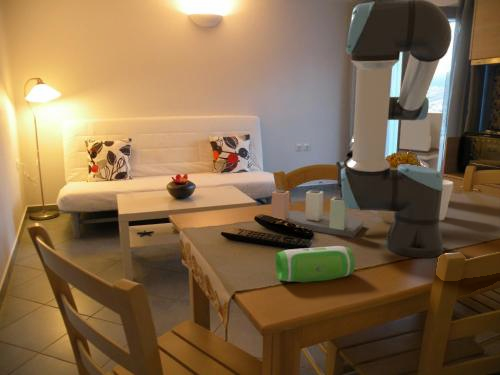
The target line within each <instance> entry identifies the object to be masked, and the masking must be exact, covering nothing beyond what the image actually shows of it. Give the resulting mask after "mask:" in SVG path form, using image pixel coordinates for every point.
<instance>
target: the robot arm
mask: <svg viewBox="0 0 500 375" xmlns="http://www.w3.org/2000/svg"><path fill="white" fill-rule="evenodd" d="M451 41H452V28H451V24H450V21H449V18H448V17H447V15H446V14H445V12H444V11H443V10H442V9H441V8H440V7H439V5H436V4H435V3H433V2H431V1H429V0H388V1H387V0H384V1H383V0H382V1H369V2H363V3H358V4H356V5H355V6H354V7H353V9H352V13H351V20H350V24H349V30H348V36H347V43H346V49H345V53H346V54H347V55H351V57H350V62H351V63H352V64H353V65H354V67H356V80H355V82H356V83H355V101H354V103H355V104H354V120H353V133H352V137H351V140H350V143H349V146H348V150H347V153H346V157H345V158H344V159H343V161H341V162H339V161H337V162H335V165H336V167H337V187H338V189H339V190H341V191H340V196H339V197H342V198H343V202H344V205H345V206H346V207H347V208H348V210H349V209H351V210H358V211H375V212H376V211H377V212H394V215H393V221H392V223H391V225H390V227H389V230H388V233H387V234H386V236H385V247H386V248H387V249H388V250H390V251H391V252H393V253H395V254H398V255H402V256H405V257H411V258H418V259H419V258H422V259H424V258H425V259H427V258H435V257H438V256H440V254H441V255H442V254H443V252H444V241H443V236H442V231H441V228H440V220H439V216H440V206H441V197H442V191H443V180H444V179H443V178H444V177H443V174H442V173H441V172H440V171H438V170H437V171H436V170H434V169H431V168H427V167H423V166H417V165H410V164H400V165H399V164H398V166H397V168H396V169H391V163H390V162H389V161H388V160H387V159H386V151H387V150H386V148H387V146H386V145H387V137H388V136H387V135H388V123H389V121H401V120H412V121H415V120H424V119H425V118H426V117H427V114H428V113H429V108H430V105H429V104H430V101H429V98H428V97H426V96H427V94H428V91H429V90H430V86H431V83H432V81H433V78H434V76H435V73H436V70H437V67H438V65H439V63H440V60H441V59H443V58H445V56H446V55H447V53H448V51H449V48H450V45H451ZM401 53H409V57H408V61H407V64H406V67H405V68H406V69H405V72H404V77H403V80H402V84H401V88H400V92H399V96H391V88H392V87H391V86H392V74H393V73H392V72H393V67H394V66H395V65H396V64H397V63H398V62H399V61H400V58H401V57H400V56H401ZM344 166H345V167H344Z"/></svg>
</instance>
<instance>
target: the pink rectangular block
mask: <svg viewBox="0 0 500 375" xmlns="http://www.w3.org/2000/svg"><path fill="white" fill-rule="evenodd" d="M289 210H290V191H288V190H285V189H284V190H281V189H276V190H273V191H272V192H271V214H272V217H274V218H278V219H282V220H286V219H287V218H289Z"/></svg>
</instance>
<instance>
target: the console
mask: <svg viewBox="0 0 500 375" xmlns="http://www.w3.org/2000/svg"><path fill="white" fill-rule="evenodd" d="M269 216H272V213H271V214H270V215H269ZM305 216H306V211H299V210H298V211H297V210H292V209H291V210H290V209H289V218H287V219H286V221H289V222H292V223H295V224H296V225H299V226H302V227H304V228H307V229H309V230H308V231H310V230H312V231H311V232H316V231H317V233H322V232H323V233H324V234H329V235H335V236H341V237H347V238H352V239H353V238H354V237H355V236H356V235H357V234H358V233H359V232H360V231H361V230H362V229H363V227H364V223H365V222H364V220H361V219H355V218H348V225H347V227H346V228H345V229H344V230H340V229H334V228H329V224H330V215H328V214H327V215H326V214H323V217H322V218H321V219H320V220H319V221H316V220H309V219H305Z"/></svg>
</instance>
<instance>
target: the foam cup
mask: <svg viewBox="0 0 500 375" xmlns="http://www.w3.org/2000/svg"><path fill="white" fill-rule="evenodd" d="M453 190H454V182H453V181H452V180H451V181H450V180H449V179H443V191H442V197H441V206H440V216H439V221H444V220H445V218H446V214H447V210H448V206H449V203H450V199H451V195H452V192H453Z"/></svg>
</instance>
